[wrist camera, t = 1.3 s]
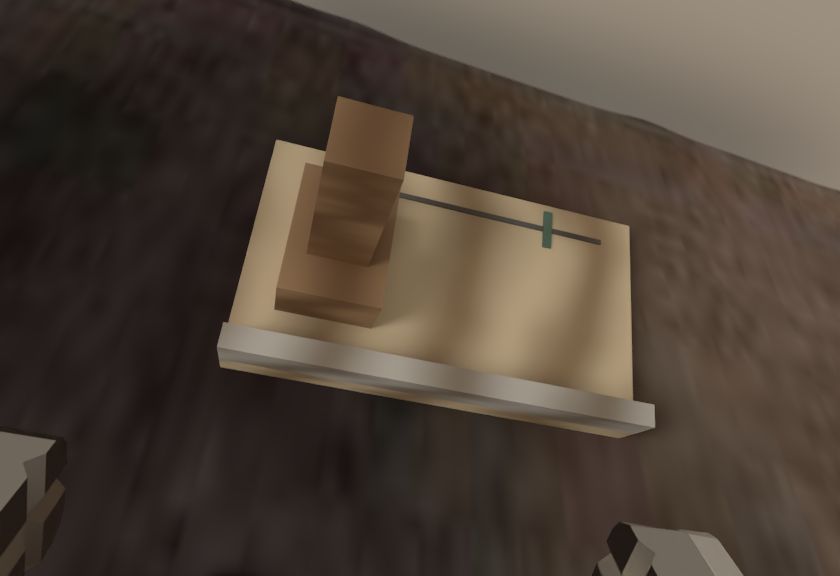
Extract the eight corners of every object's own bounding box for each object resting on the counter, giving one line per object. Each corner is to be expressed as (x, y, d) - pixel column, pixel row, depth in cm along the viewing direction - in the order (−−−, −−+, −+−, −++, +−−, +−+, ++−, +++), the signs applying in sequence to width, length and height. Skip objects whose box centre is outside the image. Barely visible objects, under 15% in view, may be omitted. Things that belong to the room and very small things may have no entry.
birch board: (220, 366, 31) (216, 346, 28) (275, 154, 37) (277, 117, 33) (619, 438, 35) (655, 427, 32) (616, 236, 40) (647, 210, 37)
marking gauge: (274, 309, 32) (284, 201, 22) (303, 183, 35) (324, 38, 25) (370, 328, 32) (423, 232, 23) (391, 203, 36) (445, 71, 26)
